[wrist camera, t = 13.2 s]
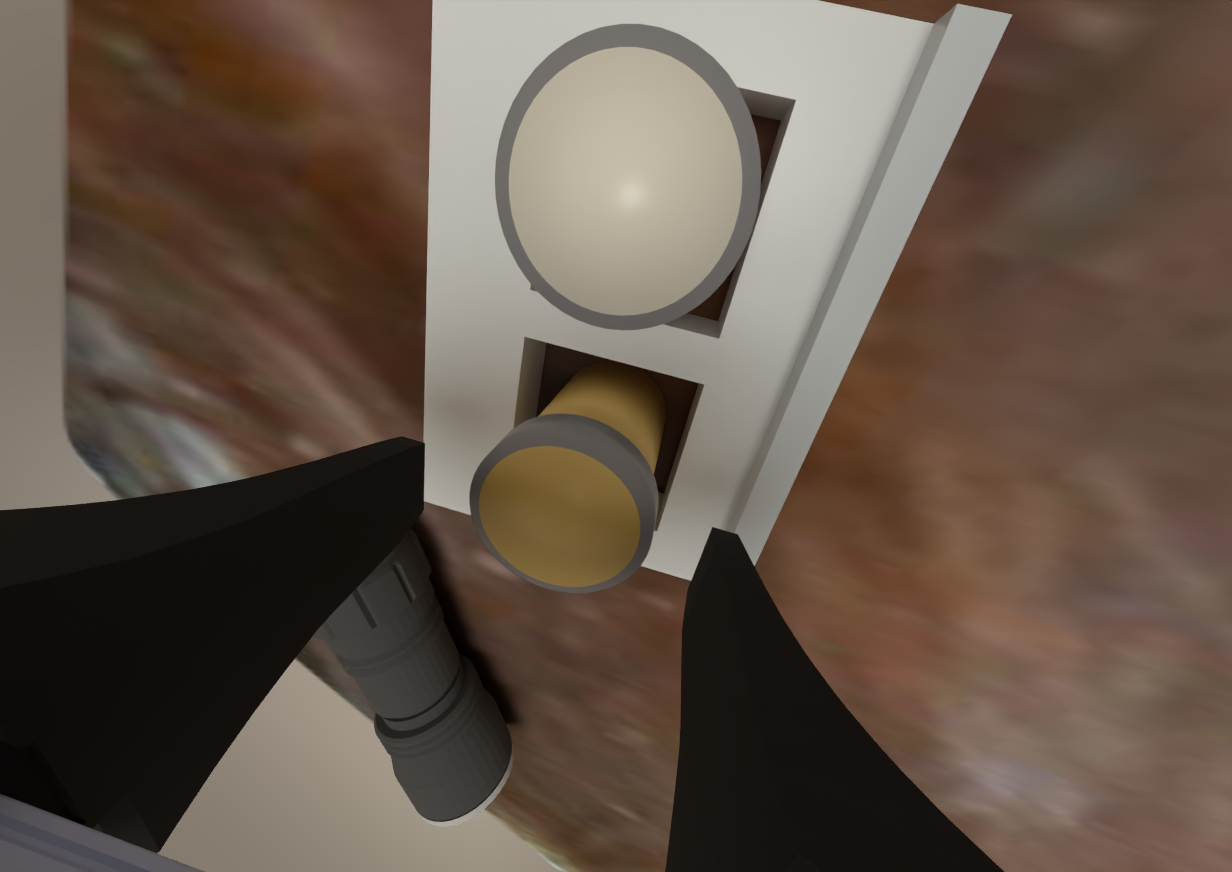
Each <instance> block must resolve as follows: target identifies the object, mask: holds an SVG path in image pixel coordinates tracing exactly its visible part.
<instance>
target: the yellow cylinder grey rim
mask: <svg viewBox="0 0 1232 872" xmlns="http://www.w3.org/2000/svg"><path fill="white" fill-rule="evenodd" d="M665 422H666V406H665V402H664V399H663V396H662V393H661V392H660V390H659V388H658V386H657V385H656V384H655V382H654V381H653V380H652V379H651V378H650V377H649V376H648V375H647V374H646V373H644V372H643V371H641V370H640V369H638V368H636V367H634V366H632V365H629V364H625V363H622V362H618V361H602V362H597V363H594V364H591V365H588V366H586V367H584V368H583V369H581V370H580V371H578V372H577V373H576V374H575V375H574V376H573V377H572V378H571V379H570V381H569V382H568V383H567V384H566V385H565V386H564V387H563V389H562V390H561V391H560V392H559V393H558V394H557V395H556V397H555V398H554V399H553V400H552V401H551V402H550V403H549V405H548V406H547V407H546V408H545V409H544V410H543V411H542V413H541V414H540V415H539V416H538V417H535V418H532V419H529V420H527V421H525V422H523V423H521V424H520V425H518V426H517V427H515V428H514V429H512V430H511V431H510V432H509V433H508V434H507V435H506V436H505V437H504V438H503V439H502V440H501V441H500V442H499V443H498V444H497V445H496V446H495V448H494V449H493V450H492V451H491V452H490V453H489V454H488V455H487V456H486V457H485V458H484V459H483V461H482V462H481V463H480V465H479V466H478V468H477V470H476V472H475V474H474V476H473V479H472V482H471V487H470V493H469V505H470V511H471V516H472V520H473V523H474V526H475V528H476V530H477V533H478V535H479V536H480V538H481V540H482V541H483V543H484V544H485V546H486V547H487V549H488V550H489V551H490V552H491V553H492V555H493V556H494V557H495V558H496V559H497V560H498V561H499V562H500V563H502V564H503V565H504V566H505V567H506V568H507V569H509V570H510V571H512V572H513V573H514V574H516V575H518V576H519V577H521V578H523V579H524V580H526V581H529V582H531V583H533V584H535V585H538V586H541V587H543V588H546V589H550V590H554V591H559V592H566V593H590V592H596V591H601V590H604V589H608V588H611V587H613V586H615V585H617V584H619V583H621V582H623V581H624V580H626V579H628V578H629V577H630V576H631V575H632V574H633V573H635V572H636V570H637V569H638V568H639V567H640V566H641V565H642V563H643V561H644V560H645V558H646V557H647V554H648V552H649V549H650V547H651V542H652V538H653V533H654V527H655V522H656V516H657V511H658V500H659V498H658V488H657V484H656V480H655V477H654V471H655V467H656V463H657V458H658V454H659V449H660V445H661V440H662V436H663V431H664V427H665Z"/></svg>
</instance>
